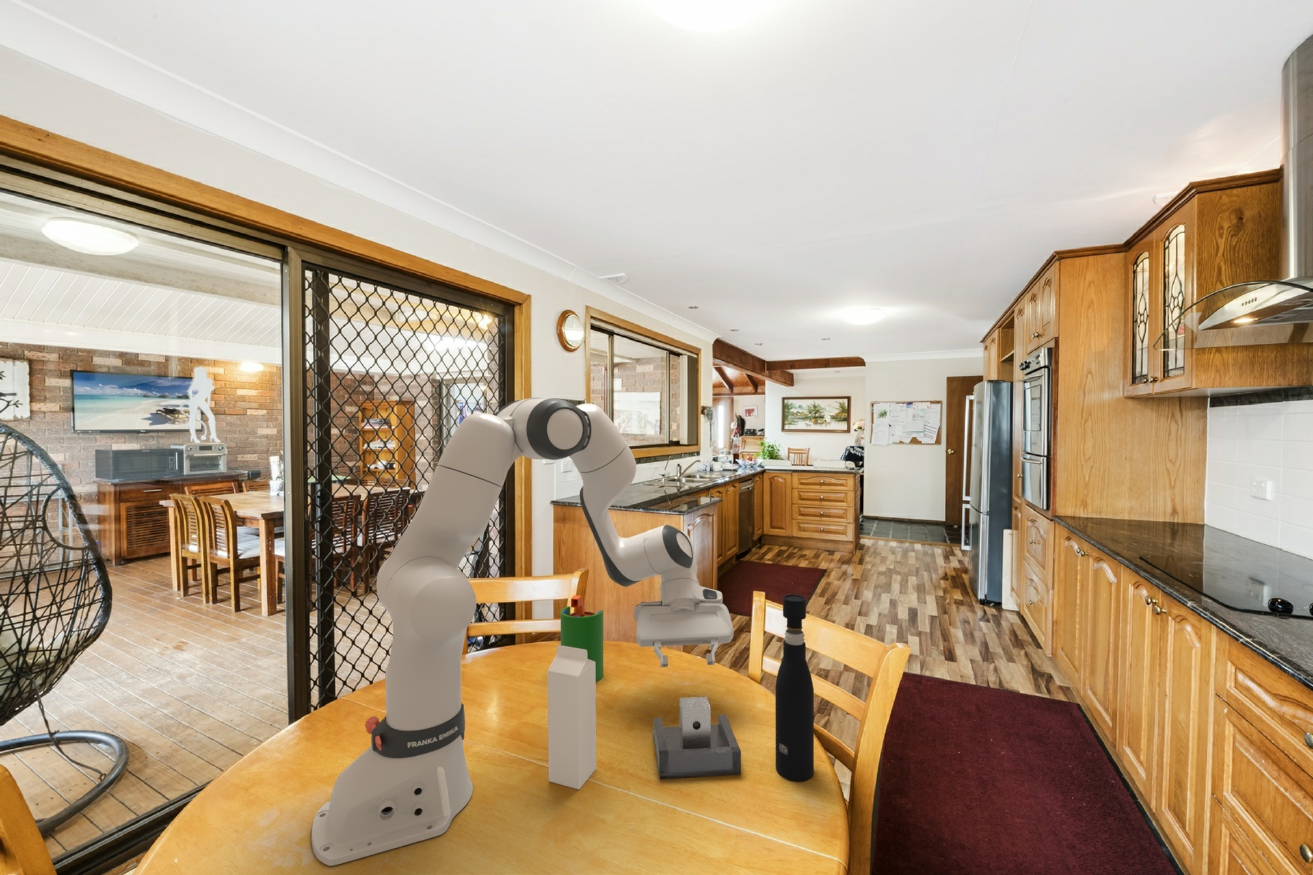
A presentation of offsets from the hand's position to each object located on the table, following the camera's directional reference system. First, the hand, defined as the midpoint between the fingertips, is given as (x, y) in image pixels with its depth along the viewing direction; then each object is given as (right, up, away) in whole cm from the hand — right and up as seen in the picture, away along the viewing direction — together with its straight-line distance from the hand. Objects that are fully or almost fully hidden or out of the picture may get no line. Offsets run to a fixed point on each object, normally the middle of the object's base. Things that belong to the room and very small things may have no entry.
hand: (687, 665), depth 108 cm
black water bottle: (+18, -12, -14) cm, 26 cm away
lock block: (+1, -11, -11) cm, 16 cm away
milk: (-21, -13, -15) cm, 29 cm away
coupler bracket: (+1, -12, -9) cm, 15 cm away
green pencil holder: (-24, -12, +21) cm, 34 cm away
